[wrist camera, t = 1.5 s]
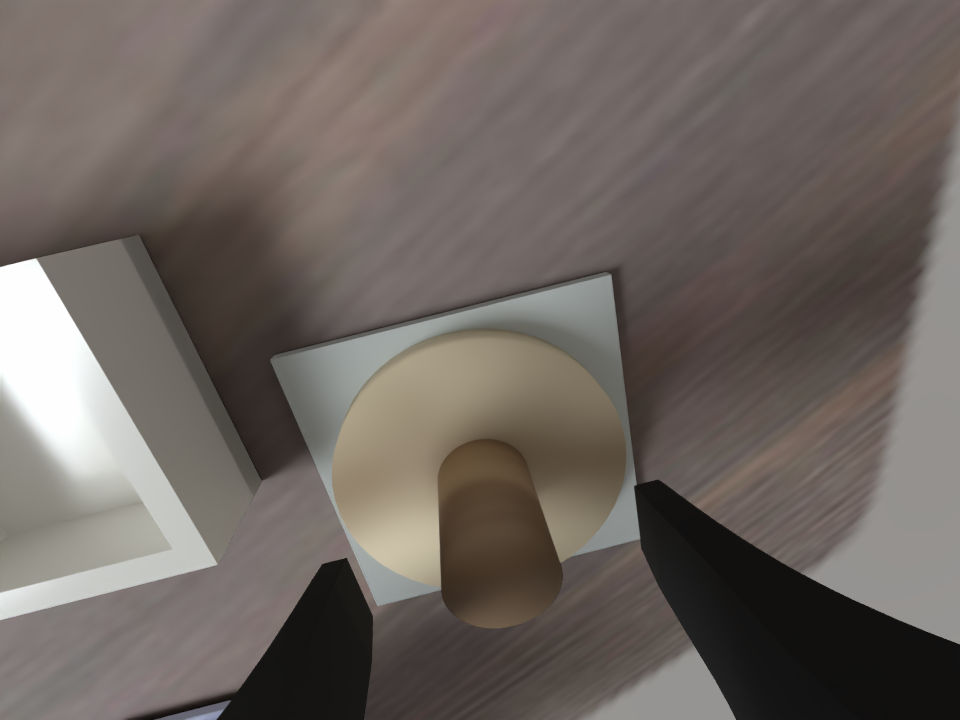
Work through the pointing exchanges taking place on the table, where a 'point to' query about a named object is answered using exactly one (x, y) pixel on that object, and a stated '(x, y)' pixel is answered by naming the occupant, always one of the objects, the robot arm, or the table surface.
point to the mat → (540, 313)
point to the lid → (480, 469)
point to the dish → (107, 433)
